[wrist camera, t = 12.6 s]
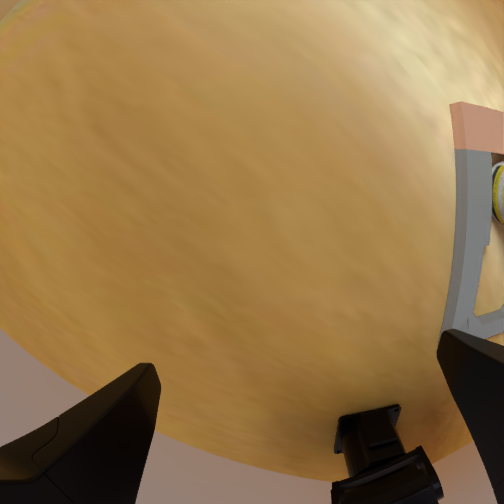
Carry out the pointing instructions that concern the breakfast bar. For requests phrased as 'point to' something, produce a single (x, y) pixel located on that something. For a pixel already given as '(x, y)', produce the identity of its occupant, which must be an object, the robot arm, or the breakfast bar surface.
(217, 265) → the breakfast bar surface
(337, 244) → the breakfast bar surface
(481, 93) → the breakfast bar surface
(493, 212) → the supplement bottle
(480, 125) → the keyhole board
